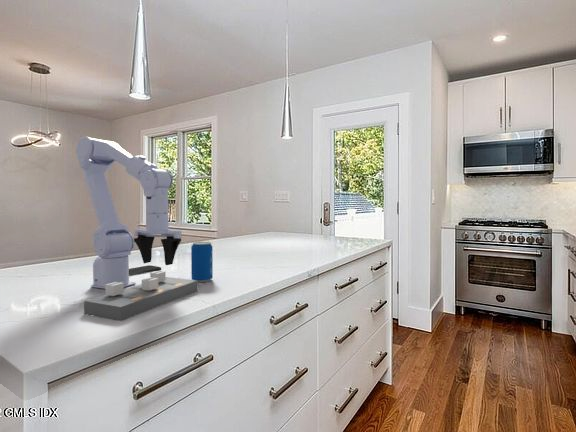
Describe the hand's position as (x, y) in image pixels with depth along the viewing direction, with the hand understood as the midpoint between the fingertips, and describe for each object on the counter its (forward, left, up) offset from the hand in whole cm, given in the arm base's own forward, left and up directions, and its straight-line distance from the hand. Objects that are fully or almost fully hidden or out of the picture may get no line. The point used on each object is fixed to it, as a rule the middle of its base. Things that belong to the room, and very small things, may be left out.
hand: (158, 263), depth 94 cm
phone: (-27, +19, -9) cm, 34 cm away
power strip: (+3, -4, -8) cm, 10 cm away
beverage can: (+2, +17, -8) cm, 19 cm away
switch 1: (0, -14, -5) cm, 15 cm away
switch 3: (0, 0, -5) cm, 5 cm away
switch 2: (+4, -7, -5) cm, 9 cm away
